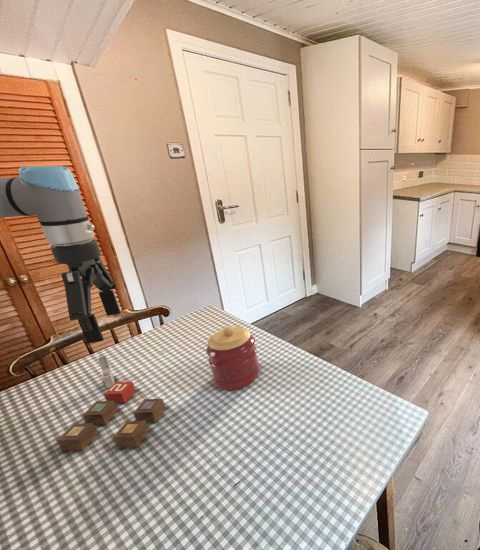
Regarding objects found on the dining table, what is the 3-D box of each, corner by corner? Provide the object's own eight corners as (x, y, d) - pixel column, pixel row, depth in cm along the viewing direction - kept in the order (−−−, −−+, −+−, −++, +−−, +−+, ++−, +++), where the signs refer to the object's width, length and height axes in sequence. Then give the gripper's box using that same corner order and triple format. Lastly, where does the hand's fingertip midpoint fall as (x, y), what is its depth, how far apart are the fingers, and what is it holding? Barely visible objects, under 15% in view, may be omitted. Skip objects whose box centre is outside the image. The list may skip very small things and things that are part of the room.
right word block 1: (118, 450, 69) (112, 437, 68) (131, 433, 74) (126, 420, 72) (138, 449, 70) (133, 436, 68) (150, 432, 74) (145, 420, 72)
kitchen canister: (222, 400, 83) (209, 346, 77) (208, 375, 92) (196, 326, 86) (267, 378, 91) (259, 328, 85) (250, 358, 100) (242, 311, 94)
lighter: (115, 387, 88) (106, 365, 85) (107, 390, 87) (98, 367, 84) (113, 375, 93) (105, 353, 90) (106, 377, 92) (97, 355, 89)
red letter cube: (108, 405, 82) (103, 393, 80) (119, 393, 86) (115, 381, 84) (125, 404, 82) (121, 393, 80) (136, 392, 86) (132, 381, 85)
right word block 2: (137, 424, 76) (133, 412, 74) (148, 410, 80) (144, 398, 78) (156, 424, 76) (151, 411, 75) (166, 409, 80) (162, 398, 79)
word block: (63, 453, 69) (56, 440, 67) (79, 436, 73) (73, 423, 71) (84, 452, 69) (77, 439, 67) (99, 435, 73) (93, 422, 72)
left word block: (87, 427, 75) (81, 415, 74) (101, 413, 79) (96, 401, 78) (106, 426, 75) (101, 414, 74) (119, 412, 80) (114, 400, 78)
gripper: (71, 256, 56) (108, 351, 64) (112, 228, 77) (136, 302, 85) (17, 261, 53) (62, 360, 61) (74, 231, 74) (103, 307, 82)
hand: (105, 326), depth 73 cm, fingers open, 13 cm apart
